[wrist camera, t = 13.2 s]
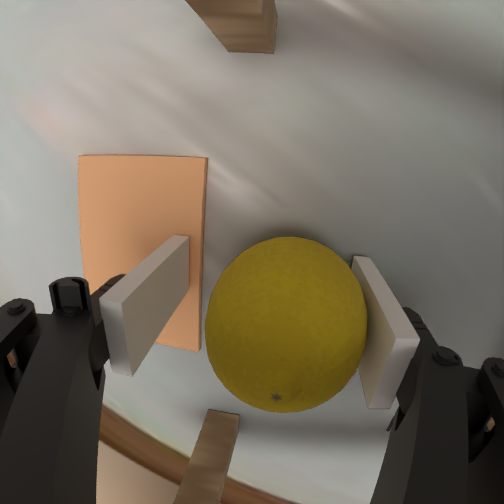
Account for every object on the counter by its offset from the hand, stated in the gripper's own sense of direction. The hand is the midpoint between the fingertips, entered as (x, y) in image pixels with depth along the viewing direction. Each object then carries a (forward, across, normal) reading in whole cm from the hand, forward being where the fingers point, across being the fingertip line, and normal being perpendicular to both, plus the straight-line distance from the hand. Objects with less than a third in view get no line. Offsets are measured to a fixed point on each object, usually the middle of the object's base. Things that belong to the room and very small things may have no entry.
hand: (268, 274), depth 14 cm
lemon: (+1, -1, 0) cm, 1 cm away
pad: (+1, +7, 0) cm, 7 cm away
